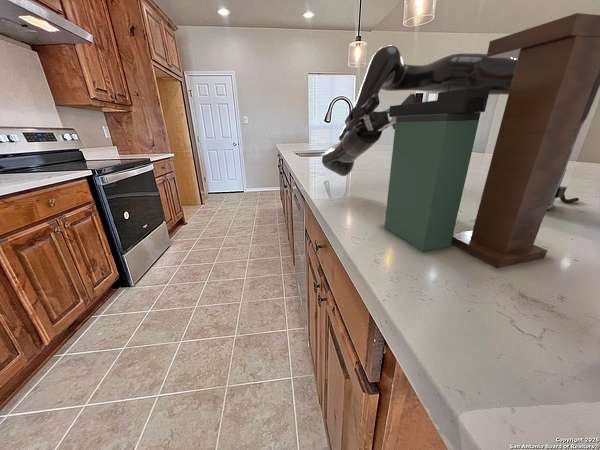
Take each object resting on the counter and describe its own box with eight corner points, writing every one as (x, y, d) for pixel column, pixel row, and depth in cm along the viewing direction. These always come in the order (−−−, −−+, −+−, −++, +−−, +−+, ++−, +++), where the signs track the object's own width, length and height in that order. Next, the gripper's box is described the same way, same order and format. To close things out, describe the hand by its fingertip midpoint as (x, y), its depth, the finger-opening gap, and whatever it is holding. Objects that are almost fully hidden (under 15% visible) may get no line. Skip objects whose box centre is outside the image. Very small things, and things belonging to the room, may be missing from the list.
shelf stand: (482, 231, 50) (535, 43, 37) (544, 257, 40) (644, 14, 28) (442, 239, 48) (484, 40, 35) (497, 268, 38) (583, 8, 25)
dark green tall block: (407, 223, 55) (423, 115, 47) (450, 246, 45) (481, 112, 36) (384, 226, 54) (396, 116, 45) (422, 251, 43) (447, 113, 35)
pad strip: (403, 116, 50) (405, 100, 49) (485, 111, 34) (490, 87, 33) (386, 116, 50) (388, 100, 48) (462, 112, 33) (467, 87, 32)
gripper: (332, 125, 63) (360, 80, 48) (381, 123, 67) (422, 80, 51) (337, 152, 63) (368, 116, 47) (386, 149, 66) (430, 114, 50)
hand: (396, 97), depth 49 cm, fingers open, 8 cm apart
